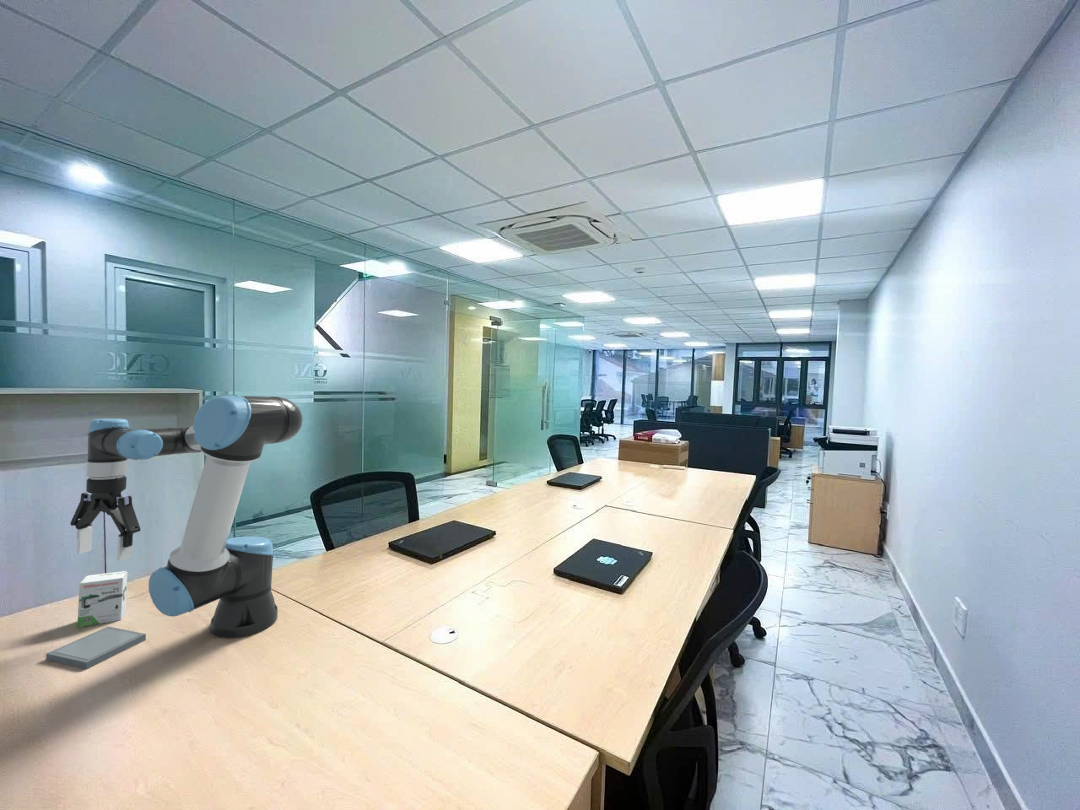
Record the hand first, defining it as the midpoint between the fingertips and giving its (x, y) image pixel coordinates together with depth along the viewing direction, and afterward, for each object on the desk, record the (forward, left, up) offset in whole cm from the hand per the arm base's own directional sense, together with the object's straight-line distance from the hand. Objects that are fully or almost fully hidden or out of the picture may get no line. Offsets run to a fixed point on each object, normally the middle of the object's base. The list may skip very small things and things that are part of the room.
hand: (104, 555), depth 115 cm
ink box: (0, 0, -18) cm, 18 cm away
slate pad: (-14, +10, -17) cm, 25 cm away
